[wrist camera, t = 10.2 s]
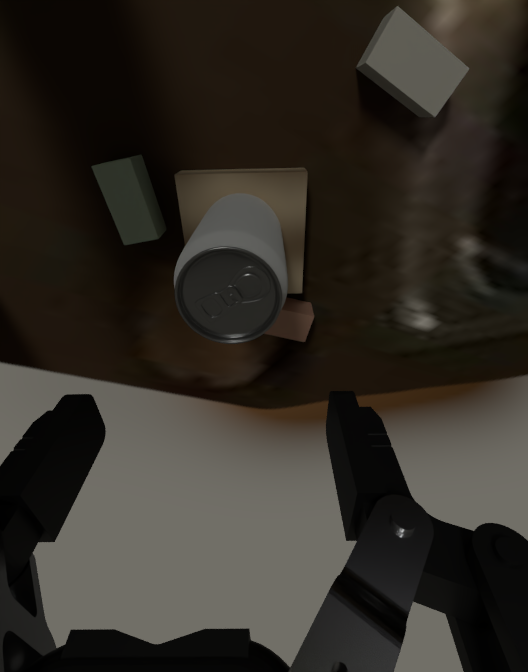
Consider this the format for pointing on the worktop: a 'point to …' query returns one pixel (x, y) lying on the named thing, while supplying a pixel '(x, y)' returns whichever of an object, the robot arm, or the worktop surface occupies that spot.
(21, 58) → the worktop surface
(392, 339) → the worktop surface
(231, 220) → the can
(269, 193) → the oak pad
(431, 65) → the brick cream
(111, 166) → the brick sage
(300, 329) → the brick terracotta
